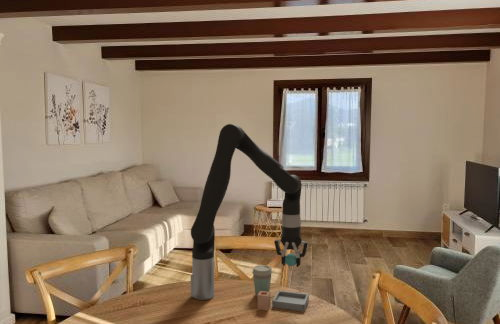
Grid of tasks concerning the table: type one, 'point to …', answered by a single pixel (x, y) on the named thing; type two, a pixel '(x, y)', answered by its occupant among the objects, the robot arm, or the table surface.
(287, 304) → the tray
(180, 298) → the table surface
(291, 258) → the ball
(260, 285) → the coffee cup
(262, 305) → the pinkish brown block
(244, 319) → the table surface
